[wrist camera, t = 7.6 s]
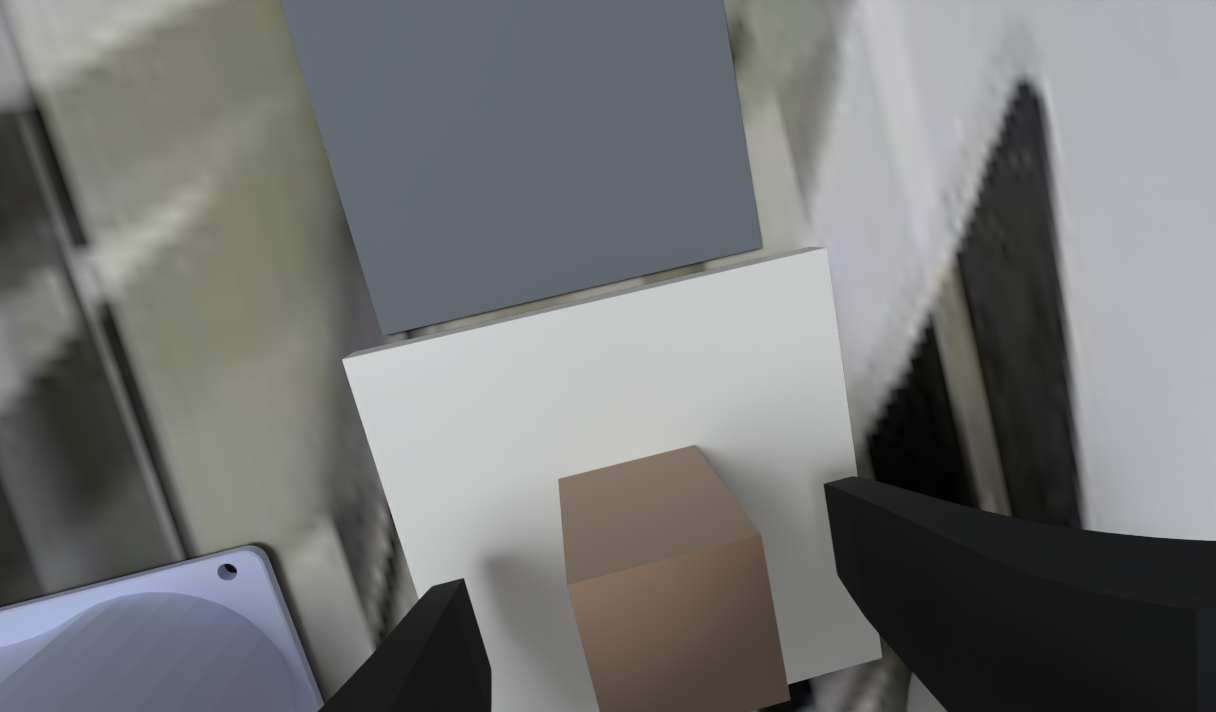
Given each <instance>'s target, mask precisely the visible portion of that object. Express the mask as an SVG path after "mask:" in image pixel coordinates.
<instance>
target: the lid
mask: <svg viewBox="0 0 1216 712" xmlns="http://www.w3.org/2000/svg"><path fill="white" fill-rule="evenodd" d="M342 361H343V364H344V367H345V370H346V373H347V377H348V380H349V383H350V386H351V389H352V392H353V395H354V398H355V401H356V405H357V408H358V411H359V414H360V417H361V420H362V423H363V426H364V429H365V433H366V436H367V439H368V442H369V445H370V448H371V451H372V454H373V457H374V461H375V464H376V467H377V470H378V473H379V476H380V479H381V482H382V485H383V489H384V492H385V495H386V498H387V501H388V504H389V507H390V510H391V513H392V517H393V520H394V523H395V526H396V529H397V532H398V535H399V538H400V541H401V545H402V548H403V551H404V554H405V557H406V560H407V563H408V566H409V569H410V573H411V576H412V579H413V582H414V585H415V588H416V591H417V594H418V598H419V599H420V598H421V597H422V596H423V595H424V594H425V593H426V592H427V591H428V590H429V589H430V588H431V587H432V586H434V585H438V584H442V583H446V582H450V581H454V580H457V579H461V578H464V580H465V583H466V587H467V590H468V593H469V597H470V600H471V603H472V606H473V610H474V613H475V616H476V620H477V623H478V626H479V629H480V633H481V636H482V639H483V643H484V646H485V649H486V652H487V656H488V659H489V662H490V666H491V669H492V711H491V712H750V711H753V710H757V709H760V708H764V707H768V706H771V705H775V704H778V703H782V702H785V701H789V700H790V694H789V689H788V684H791V683H795V682H798V681H802V680H805V679H809V678H812V677H816V676H820V675H823V674H827V673H830V672H834V671H837V670H841V669H845V668H848V667H852V666H855V665H859V664H862V663H866V662H870V661H873V660H877V659H880V658H882V652H881V645H880V638H879V633H878V632H877V631H876V630H875V628H874V627H873V626H872V625H871V624H870V622H869V621H868V620H867V619H866V618H865V616H864V615H863V613H862V612H861V610H860V609H859V607H858V606H857V605H856V603H855V602H854V600H853V599H852V597H851V596H850V594H849V593H848V591H847V589H846V588H845V586H844V585H843V583H842V582H841V580H840V578H839V577H838V575H837V570H836V564H835V557H834V550H833V544H832V537H831V531H830V524H829V518H828V511H827V505H826V498H825V492H824V485H823V484H824V483H828V482H832V481H836V480H840V479H843V478H847V477H851V476H855V477H858V476H857V468H856V461H855V453H854V446H853V439H852V431H851V424H850V417H849V409H848V402H847V395H846V387H845V380H844V372H843V365H842V358H841V350H840V343H839V336H838V328H837V321H836V313H835V306H834V299H833V291H832V284H831V277H830V269H829V262H828V254H827V248H822V247H807V248H803V249H799V250H794V251H790V252H786V253H781V254H777V255H773V256H768V257H764V258H760V259H755V260H751V261H747V262H742V263H738V264H734V265H729V266H725V267H721V268H716V269H712V270H708V271H703V272H699V273H695V274H690V275H686V276H682V277H677V278H673V279H669V280H664V281H660V282H655V283H651V284H647V285H642V286H638V287H634V288H629V289H625V290H621V291H616V292H612V293H608V294H603V295H599V296H595V297H590V298H586V299H582V300H577V301H573V302H569V303H564V304H560V305H556V306H551V307H547V308H543V309H538V310H534V311H530V312H525V313H521V314H517V315H512V316H508V317H504V318H499V319H495V320H491V321H486V322H482V323H478V324H473V325H469V326H465V327H460V328H456V329H452V330H447V331H443V332H439V333H434V334H430V335H426V336H421V337H417V338H413V339H408V340H404V341H400V342H395V343H391V344H387V345H382V346H378V347H374V348H369V349H365V350H361V351H356V352H353V353H352V354H350V355H349V356H347V357H345V358H344V359H342Z"/></svg>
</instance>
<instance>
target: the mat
mask: <svg viewBox="0 0 1216 712" xmlns="http://www.w3.org/2000/svg"><path fill="white" fill-rule="evenodd" d="M280 3H281V6H282V9H283V12H284V16H285V19H286V22H287V25H288V29H289V32H290V35H291V38H292V42H293V45H294V48H295V51H296V55H297V58H298V61H299V65H300V68H301V71H302V74H303V78H304V81H305V84H306V87H307V91H308V94H309V97H310V100H311V104H312V107H313V110H314V113H315V117H316V120H317V123H318V126H319V130H320V133H321V136H322V139H323V143H324V146H325V149H326V152H327V156H328V159H329V162H330V165H331V169H332V172H333V175H334V178H335V182H336V185H337V188H338V191H339V195H340V198H341V201H342V205H343V208H344V211H345V214H346V218H347V221H348V224H349V227H350V231H351V234H352V237H353V240H354V244H355V247H356V250H357V253H358V257H359V260H360V263H361V266H362V270H363V273H364V276H365V279H366V283H367V286H368V289H369V292H370V296H371V299H372V302H373V305H374V309H375V312H376V315H377V318H378V322H379V325H380V328H381V332H382V335H383V336H384V335H388V334H393V333H397V332H401V331H405V330H410V329H414V328H418V327H423V326H427V325H431V324H436V323H440V322H444V321H448V320H453V319H457V318H461V317H466V316H470V315H474V314H478V313H483V312H487V311H491V310H496V309H500V308H504V307H509V306H513V305H517V304H521V303H526V302H530V301H534V300H539V299H543V298H547V297H551V296H556V295H560V294H564V293H569V292H573V291H577V290H582V289H586V288H590V287H594V286H599V285H603V284H607V283H612V282H616V281H620V280H624V279H629V278H633V277H637V276H642V275H646V274H650V273H655V272H659V271H663V270H667V269H672V268H676V267H680V266H685V265H689V264H693V263H697V262H702V261H706V260H710V259H715V258H719V257H723V256H728V255H732V254H736V253H740V252H745V251H749V250H753V249H758V248H762V247H763V246H762V240H761V234H760V228H759V222H758V216H757V209H756V203H755V197H754V191H753V185H752V178H751V172H750V166H749V160H748V154H747V148H746V141H745V135H744V129H743V123H742V117H741V110H740V104H739V98H738V92H737V86H736V80H735V73H734V67H733V61H732V55H731V49H730V42H729V36H728V30H727V24H726V18H725V12H724V5H723V0H280Z"/></svg>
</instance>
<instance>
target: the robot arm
mask: <svg viewBox="0 0 1216 712" xmlns="http://www.w3.org/2000/svg"><path fill="white" fill-rule="evenodd" d="M823 485H824V492H825V498H826V505H827V511H828V518H829V524H830V531H831V537H832V544H833V550H834V557H835V564H836V570H837V575H838V577H839V578H840V580H841V582H842V583H843V585H844V586H845V588H846V589H847V591H848V593H849V594H850V596H851V597H852V599H853V600H854V602H855V603H856V605H857V606H858V607H859V609H860V610H861V612H862V613H863V615H864V616H865V618H866V619H867V620H868V621H869V622H870V624H871V625H872V626H873V627H874V628H875V630H876V631H877V632H878V633H879V634H880V635H881V637H882V638H883V639H884V640H885V641H886V642H887V643H888V645H889V646H890V647H891V648H892V649H893V650H894V652H895V653H896V654H897V655H898V656H899V657H900V658H901V660H902V661H903V662H904V663H905V664H906V665H907V666H908V667H909V669H910V670H911V671H912V672H913V673H914V674H915V675H916V677H917V678H918V679H919V680H920V681H921V682H922V683H923V685H924V686H925V687H926V688H927V689H928V690H929V691H930V693H931V694H932V695H933V696H934V697H935V698H936V699H937V701H938V702H939V703H940V704H941V705H942V706H943V707H944V708H945V710H946V711H947V712H1216V541H1203V540H1184V539H1168V538H1154V537H1144V536H1134V535H1124V534H1114V533H1105V532H1097V531H1089V530H1082V529H1075V528H1069V527H1063V526H1057V525H1051V524H1045V523H1039V522H1033V521H1028V520H1023V519H1018V518H1013V517H1009V516H1005V515H1000V514H996V513H992V512H987V511H983V510H979V509H975V508H971V507H967V506H963V505H959V504H955V503H952V502H948V501H944V500H941V499H937V498H934V497H930V496H927V495H923V494H920V493H916V492H913V491H909V490H906V489H902V488H899V487H895V486H892V485H888V484H885V483H881V482H878V481H874V480H870V479H866V478H861V477H855V476H851V477H847V478H843V479H840V480H836V481H832V482H828V483H824V484H823ZM225 564H231V565H233V566H234V567H235V568H236V569H237V573H231V572H229V571H227V569H226V568H225ZM491 711H492V669H491V666H490V662H489V659H488V656H487V652H486V649H485V646H484V643H483V639H482V636H481V633H480V629H479V626H478V623H477V620H476V616H475V613H474V610H473V606H472V603H471V600H470V597H469V593H468V590H467V587H466V583H465V580H464V578H461V579H457V580H454V581H450V582H446V583H442V584H438V585H434V586H432V587H431V588H430V589H429V590H428V591H427V592H426V593H425V594H424V595H423V596H422V597H421V598H420V599H419V601H418V602H417V603H416V604H415V605H414V606H413V608H412V609H411V610H410V611H409V612H408V613H407V615H406V616H405V617H404V618H403V619H402V621H401V622H400V623H399V624H398V625H397V626H396V628H395V629H394V630H393V631H392V632H391V633H390V635H389V636H388V637H387V638H386V639H385V640H384V641H383V643H382V644H381V645H380V646H379V647H378V648H377V650H376V651H375V652H374V653H373V654H372V655H371V656H370V657H369V659H368V660H367V661H366V662H365V663H364V664H363V665H362V666H361V667H360V668H359V669H358V670H357V671H356V672H355V673H354V674H353V676H352V677H351V678H350V679H349V680H348V681H347V682H346V683H345V684H344V685H343V686H342V687H341V688H340V689H339V690H338V691H337V693H336V694H335V695H334V696H333V697H332V698H331V699H330V700H329V701H328V702H327V703H326V704H325V705H324V702H323V700H322V697H321V695H320V692H319V689H318V687H317V684H316V681H315V679H314V676H313V674H312V671H311V668H310V666H309V663H308V660H307V658H306V655H305V653H304V650H303V647H302V645H301V642H300V639H299V637H298V634H297V632H296V629H295V626H294V624H293V621H292V618H291V616H290V613H289V611H288V608H287V605H286V603H285V600H284V597H283V595H282V592H281V589H280V587H279V584H278V582H277V579H276V576H275V574H274V571H273V568H272V566H271V563H270V561H269V558H268V556H267V554H266V553H265V551H263V550H262V549H261V548H259V547H256V546H252V545H251V546H242V547H239V548H235V549H231V550H227V551H223V552H219V553H215V554H211V555H207V556H203V557H199V558H195V559H191V560H187V561H183V562H179V563H175V564H171V565H167V566H163V567H159V568H155V569H151V570H147V571H143V572H139V573H135V574H131V575H127V576H123V577H119V578H116V579H112V580H108V581H104V582H100V583H96V584H92V585H88V586H84V587H80V588H76V589H72V590H68V591H64V592H60V593H56V594H52V595H48V596H44V597H40V598H36V599H32V600H28V601H24V602H20V603H16V604H12V605H8V606H4V607H0V712H491Z"/></svg>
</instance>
